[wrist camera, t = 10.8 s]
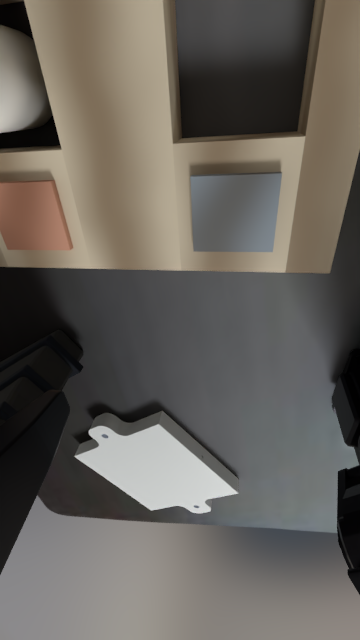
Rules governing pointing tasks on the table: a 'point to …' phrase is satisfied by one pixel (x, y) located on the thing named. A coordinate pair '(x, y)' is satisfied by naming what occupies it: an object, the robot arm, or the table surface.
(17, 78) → the plug
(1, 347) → the table surface
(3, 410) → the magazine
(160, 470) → the mounting plate
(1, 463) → the robot arm
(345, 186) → the socket board
